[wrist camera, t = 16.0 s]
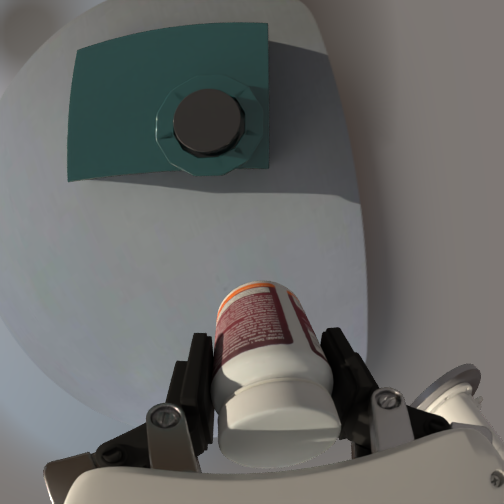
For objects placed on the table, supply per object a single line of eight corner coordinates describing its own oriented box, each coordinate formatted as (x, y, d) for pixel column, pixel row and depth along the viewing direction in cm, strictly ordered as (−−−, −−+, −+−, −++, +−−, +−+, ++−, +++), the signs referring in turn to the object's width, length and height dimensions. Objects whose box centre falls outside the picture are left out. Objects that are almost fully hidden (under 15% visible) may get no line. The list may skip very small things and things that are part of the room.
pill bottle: (207, 338, 15) (190, 463, 7) (234, 266, 14) (234, 384, 6) (281, 358, 16) (307, 476, 8) (316, 293, 15) (381, 405, 7)
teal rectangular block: (264, 39, 18) (270, 11, 13) (264, 174, 22) (272, 175, 17) (92, 60, 17) (67, 43, 12) (86, 184, 21) (55, 190, 16)
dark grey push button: (240, 94, 16) (241, 87, 14) (240, 153, 17) (240, 151, 15) (179, 97, 15) (174, 90, 14) (178, 155, 16) (172, 153, 15)
